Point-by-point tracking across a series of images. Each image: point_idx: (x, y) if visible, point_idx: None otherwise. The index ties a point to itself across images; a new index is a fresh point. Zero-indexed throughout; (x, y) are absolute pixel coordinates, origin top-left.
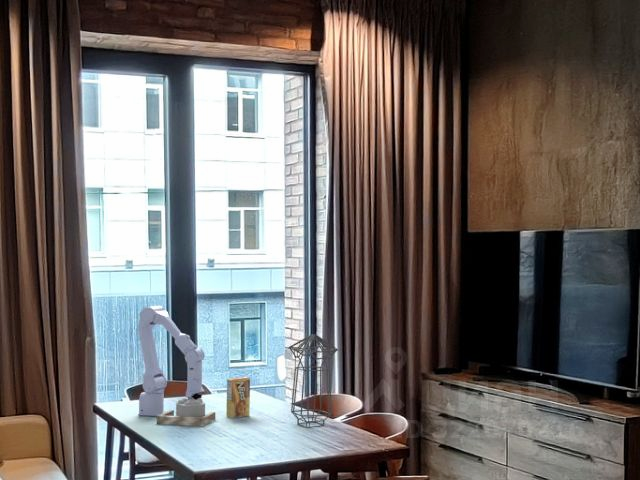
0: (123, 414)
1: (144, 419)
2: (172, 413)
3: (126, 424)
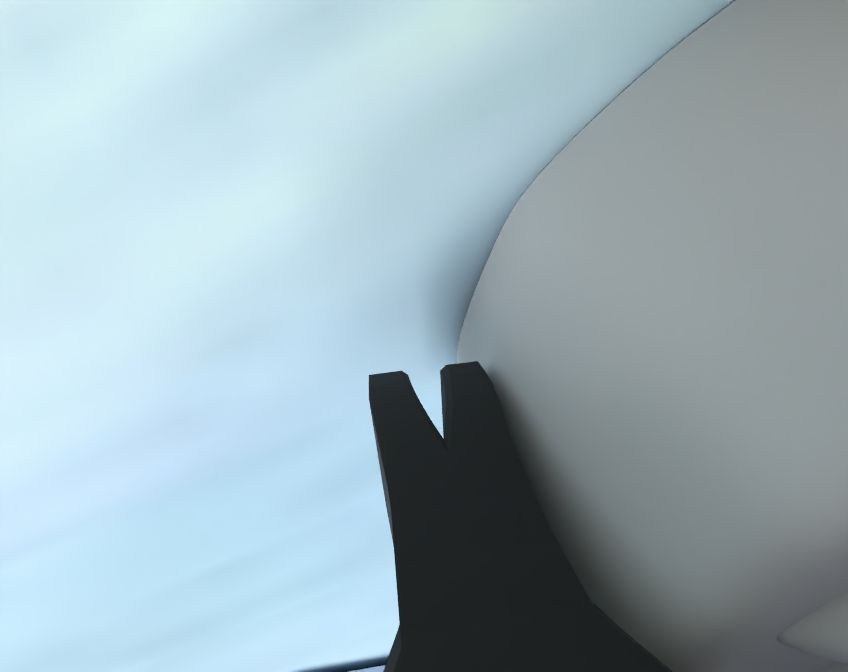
0: None
1: None
2: None
3: None
